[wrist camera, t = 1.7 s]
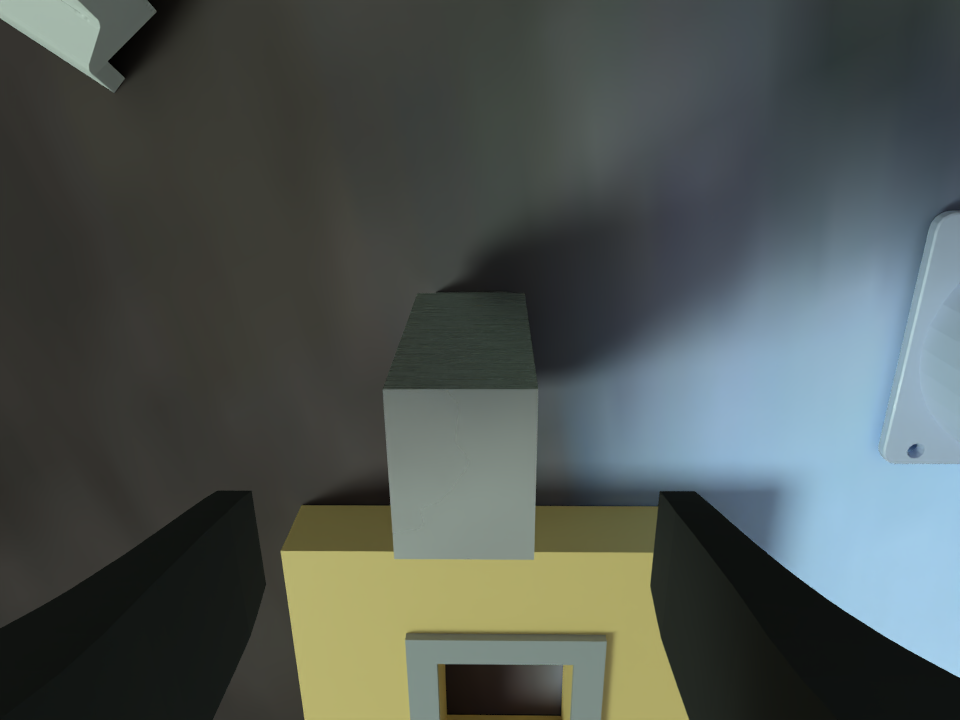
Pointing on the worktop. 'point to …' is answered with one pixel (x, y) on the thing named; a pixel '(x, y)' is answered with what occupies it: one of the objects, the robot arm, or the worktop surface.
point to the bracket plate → (476, 616)
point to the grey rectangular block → (463, 429)
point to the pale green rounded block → (80, 30)
